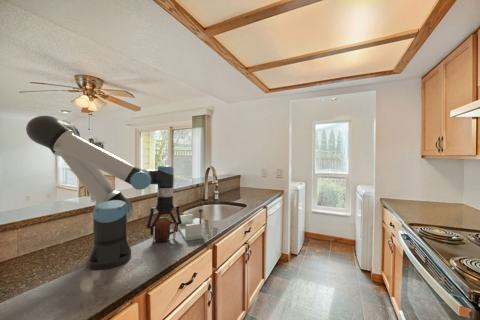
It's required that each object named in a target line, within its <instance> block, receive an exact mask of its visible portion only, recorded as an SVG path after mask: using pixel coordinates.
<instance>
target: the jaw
mask: <svg viewBox="0 0 480 320" xmlns="http://www.w3.org/2000/svg"><path fill="white" fill-rule="evenodd" d="M180 218H181V222H182V224H179V226H180V225H187V224H194V214H192V213H189V214H183V215H182V214H181V215H180Z"/></svg>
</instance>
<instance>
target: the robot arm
mask: <svg viewBox="0 0 480 320" xmlns="http://www.w3.org/2000/svg"><path fill="white" fill-rule="evenodd" d="M25 132H26V135H27V136H28V138H29V139H30V140H31V141H33V142H34V143H36V144H38V145H40V146H43V147H46V148H48V149H49V150H50V151H51V153H52V154H53V155H54V156H57V157H61V158H62V159H63V161H64V162H65V164H67V166H68V167H69V168H70V170H71V172H72V173H73V174H74V175H75V176H76V178H77V179H78V180H79V182H80V183H81V185H83V186H84V188H85V189H86V191H87V192H88V194H90V196H91V197H92V198H93V200H94V201H95V204H94V208H93V211H92V212H93V213H92V219H93V221H92V223H93V231H92V232H93V234H92V235H93V238H92V239H93V241H92V242H93V244H92V247H91V250H90V252H89V254H88V257H87V267H88V268H89V269H91V270H96V271H97V270H106V269H112V268H116V267H118V266H121V265H123V264H125V263H127V262H128V261H129V260H131V258H132V249H131V246H130V243H129V241H128V220H129V219H130V218H131V216H132V214H133V211H134V210H133V203H132V202H131V201H130V200H129V199H128V198H127V197H125V196H124V195H123V193H122V192H121V191H120V190H116V189H114V187H113V186H112V185H111V183H110V181H108V179H107V177H106V176H105V174H103V173H102V172H104V173H107V174H108V175H111V176H113V177H115V178H117V179H119V180H120V181H123V182H125V183H127V184H129V185H131V186H132V188H134V189H135V190H139V191H141V190H145V189H147V188H148V187H149V186H150V185H157V192H156V193H157V197H156V199H157V201H156V204H157V205H156V206H154V207H152V206H151V207H150V208H149V210H150V214H149V216H148V219H147V223H146V229H149V230H150V232H149V234H150V236H152V243H155V242H156V241H155V222H157V221H158V219H159V218H161V216H164V215H169V216H170V218H171V219H172V220H171V221H172V222H175V223H176V224H177V229H176V231H175V232H174V233H173V234H172V238H173V240H176V239H177V238H176V236H177V235H176V233H177V232H179V229H178V225H179V224H182V222H181V218H180V214H181V213H180V206H179V205H178V204H176V205H174V196H173V195H174V179H175V178H174V177H175V176H174V173H175V172H174V167H173V166H172V165H158V167H157V169H145V168H144V169H142V168H139V167H137V166H135V165H134V164H131V163H129V162H127V161H126V160H124V159H122V158H120V157H118V156H116V155H114V154H112V153H110V152H109V151H107V150H104V148H101V147H99V146H97V145H95V144H93V143H91V142H89V141H87V140H85V139H84V138H81V135H80V131H79V129H78V128H77V127H76V126H75V125H74V124H72V123H71V122H69V121H66V120H63V119H59V118H57V117H55V116H51V115H38V116H35V117H33V118H31V119H30V120H29V121H28V122H27V124H26V127H25ZM173 209H174V210H175V213H176V218H177V220H176V218H175V216H174V215H173V213H172V211H173ZM156 211H157V214H156V216H155V217H154V219H153V216H154V212H156ZM152 219H153V220H154V222H153V221H152ZM172 225H173V226H172V227H173V228H172V229H173V231H174V227H175V226H174V224H172ZM173 231H172V232H173Z"/></svg>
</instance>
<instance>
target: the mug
mask: <svg viewBox="0 0 480 320" xmlns="http://www.w3.org/2000/svg"><path fill="white" fill-rule="evenodd" d="M153 222H154V219H153V221H152V223H153ZM171 225H174V226H175V227H174V231H171ZM154 227H155V242H158V243H164V242H167V241H168V240H169V239H170V238H171V237H170V236H171V235H173V233H174V232H175V231H176V229H177V224H176V223H175V222H174V221H173V220H172V218H171V217H159V219H158V221H157V222H155V226H154Z"/></svg>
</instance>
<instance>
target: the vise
mask: <svg viewBox="0 0 480 320" xmlns="http://www.w3.org/2000/svg"><path fill="white" fill-rule="evenodd" d="M203 212H204V211H203V209H202V208H199V209H198V213H199V222H196V223H193V224H187V225H180V226H179V225H178V232H179V233H180V235H181V236H182V238H183V239H184V242H188V241H192V240H198V239H199V240H200V239H203V238H204V234H203V223H202V213H203Z"/></svg>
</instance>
